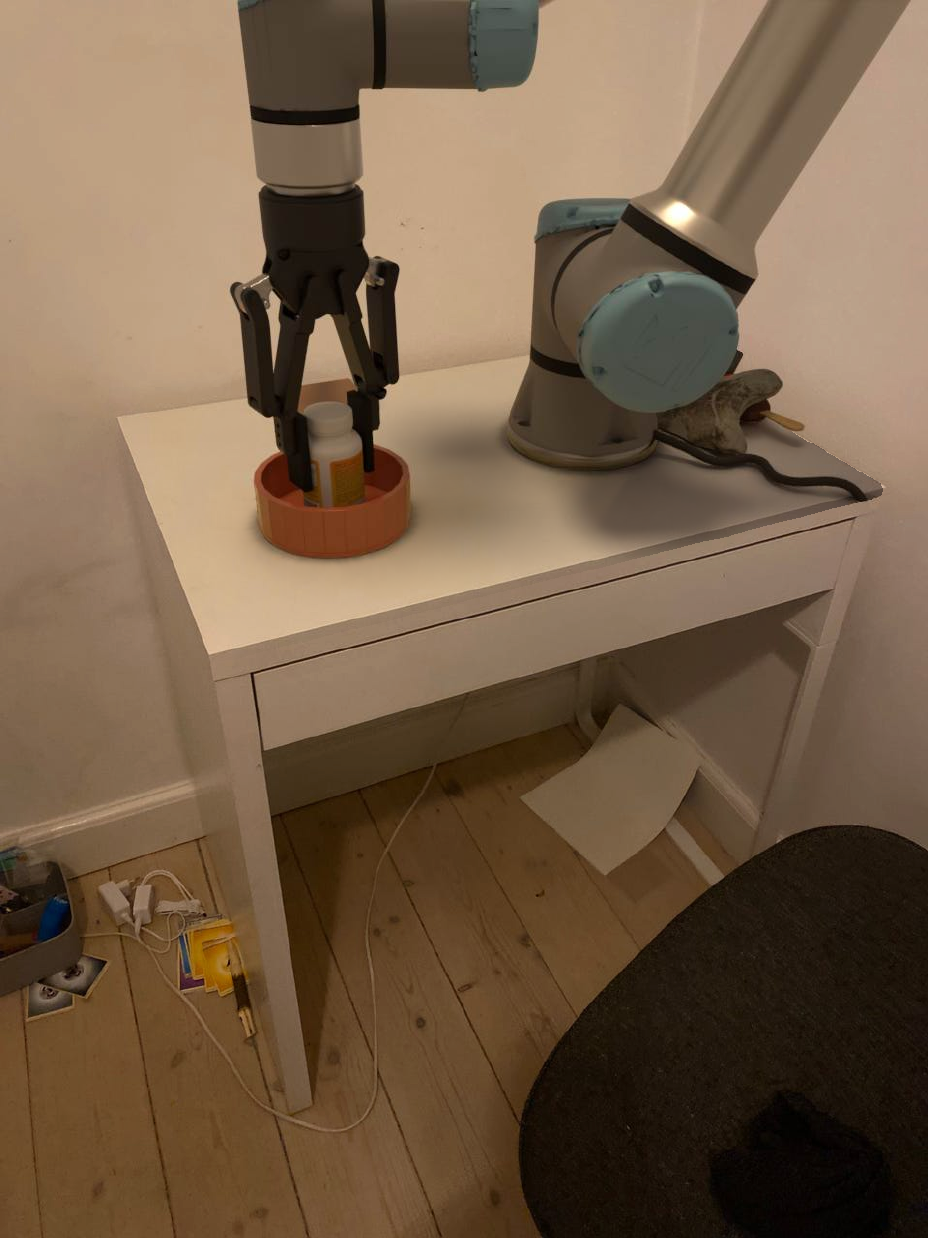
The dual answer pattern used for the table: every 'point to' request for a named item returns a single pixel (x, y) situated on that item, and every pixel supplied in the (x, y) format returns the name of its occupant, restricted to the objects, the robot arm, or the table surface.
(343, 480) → the supplement bottle
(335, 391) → the coaster
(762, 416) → the ice cream bar
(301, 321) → the robot arm
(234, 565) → the table surface
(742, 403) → the fossil
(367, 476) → the terracotta planter dish
